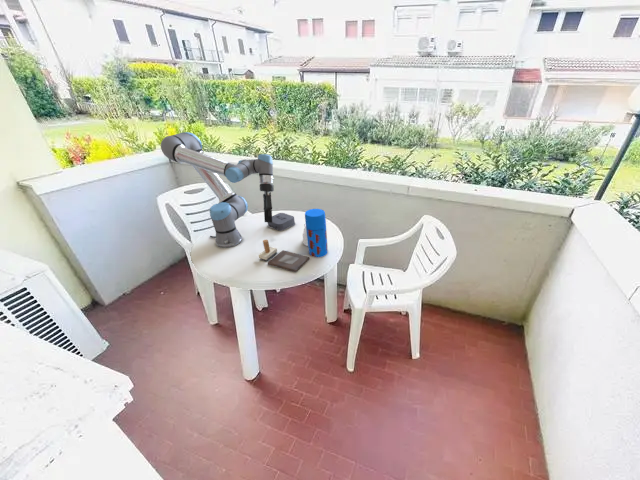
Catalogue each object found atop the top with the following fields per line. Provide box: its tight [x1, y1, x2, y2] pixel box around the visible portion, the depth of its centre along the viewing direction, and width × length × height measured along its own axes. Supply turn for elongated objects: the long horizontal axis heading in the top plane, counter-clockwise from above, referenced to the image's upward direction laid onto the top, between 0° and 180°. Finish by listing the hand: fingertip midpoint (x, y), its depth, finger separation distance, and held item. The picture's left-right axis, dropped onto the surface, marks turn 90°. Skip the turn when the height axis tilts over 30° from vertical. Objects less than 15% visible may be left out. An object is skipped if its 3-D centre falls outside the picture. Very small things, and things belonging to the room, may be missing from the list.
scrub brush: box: [258, 239, 278, 262], centre depth 157 cm, size 10×5×10 cm, turn 156°
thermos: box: [304, 208, 328, 258], centre depth 157 cm, size 11×11×25 cm
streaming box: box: [267, 212, 296, 232], centre depth 192 cm, size 14×14×5 cm
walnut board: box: [267, 249, 310, 273], centre depth 155 cm, size 18×14×2 cm
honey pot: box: [302, 222, 308, 247], centre depth 169 cm, size 13×13×18 cm
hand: (268, 222), depth 161 cm, fingers open, 13 cm apart
